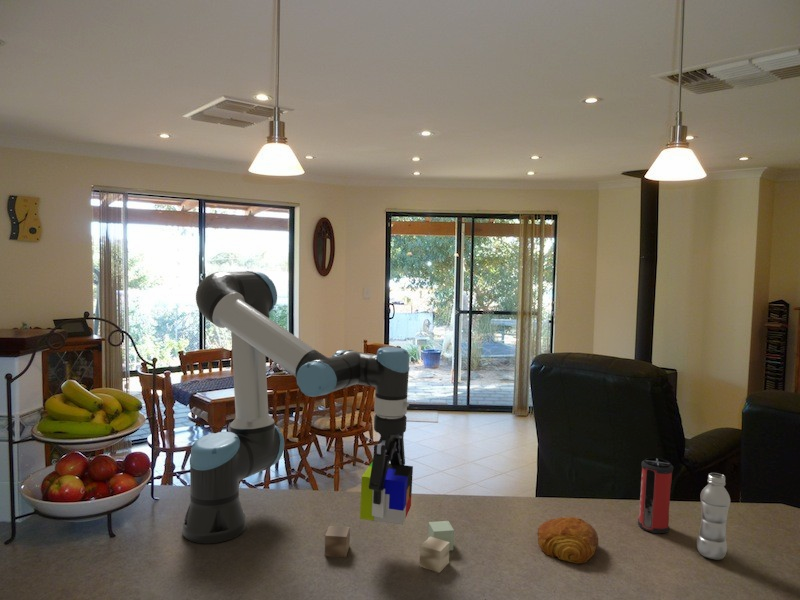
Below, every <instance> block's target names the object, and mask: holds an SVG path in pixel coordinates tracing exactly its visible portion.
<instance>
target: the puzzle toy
mask: <svg viewBox="0 0 800 600" xmlns="http://www.w3.org/2000/svg"><path fill="white" fill-rule="evenodd" d="M372 463H373V461H372V462H371V463H370V465H368V467H367V468H366V469H365V472H364V473H363V474H362V475H361V481H360V483H361V485H360V486H361V487H360V489H361V490H360V505H359V506H360V509H359V519H360V520H367V521H374V522H381V523H385V524H387V523H388V524H393V525H401V526H403V525H404V523H405V520H406V518H407V515H408V514H409V512H410V509H411V506H412V494H413V493H412V491H413V490H412V489H413V476H414V475H413V473H414V472H413V470H414V466H413V465H406V464H405V465H397V464H391V463H390V462H389V465H388V470H387V474H386V479H385V484H384V489H385V505H384V517H383V518H381V517H376V516H372V497H373V490H372V489H369V483H370V476H371V469H372Z"/></svg>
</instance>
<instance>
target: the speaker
mask: <svg viewBox="0 0 800 600" xmlns="http://www.w3.org/2000/svg"><path fill="white" fill-rule="evenodd" d="M674 469H675V468H674V466H673V465H672V463H671V462H670V461H668V460H667V459H663V458H657V457H647V458H645V459H644V460H642V461H641V479H640V496H639V508H638V509H639V513H638V519H637V525H638V526H639V527H640V528H641V529H642V530H644V531H648V532H650V533H652V534H665V533H668V532H669V531H670V526H669V524H670V523H669V522H670V502H671V490H672V489H671V488H672V486H671V485H672V479H673V472H674V471H673V470H674Z"/></svg>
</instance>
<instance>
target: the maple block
mask: <svg viewBox="0 0 800 600" xmlns="http://www.w3.org/2000/svg"><path fill="white" fill-rule="evenodd" d="M449 545H450V542H447V541H444V540H440V539H437V538H433V537H429V538H428V537H427V539H426V540H424V541H423V542H422V544H420V545H419V567H420V568H422V569H423V568H424V569H426V570H429V571H433V572H436V573H439V574H440V573H441V572H442V571H443V569H445V568H446V567H447V566H448V565H449V563H450V561H449V560H450V550H449Z"/></svg>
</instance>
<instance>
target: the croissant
mask: <svg viewBox="0 0 800 600" xmlns="http://www.w3.org/2000/svg"><path fill="white" fill-rule="evenodd" d="M536 536H537V541H538V542H537V543H538V547H539V548H540V549H541V550H542V552H543V553H544V554H545V555H547V556H551V557H552V558H556V557H557V559H559V560H562V561H565V562H569V563H573V564H577V565H578V564H579V565H580V564H584V563H587V562H588V561H589V560H590V559H591V558H592V557H594V555H595V552H596V549H597V546H598V545H599V536H598V533H597V531H596V529H595V528H594V527H593V526H592V525H591V524H589V523H588V522H586V521H585V520H583V519H582V518H579V517H576V516H575V517H573V516H572V517H571V516H570V517H569V516H566V517H557V518H551V519H549V520H546V521H544V522H543V523H541V524H540V525H539V526H538V528H537V533H536ZM551 557H550V558H551Z"/></svg>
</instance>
